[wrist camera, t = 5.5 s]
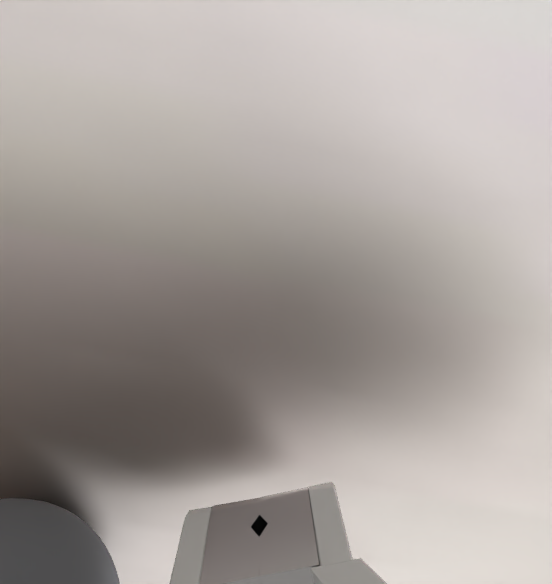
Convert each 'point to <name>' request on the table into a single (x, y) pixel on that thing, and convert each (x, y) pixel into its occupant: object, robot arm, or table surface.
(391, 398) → the table surface
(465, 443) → the table surface
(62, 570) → the charcoal ball
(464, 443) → the table surface
